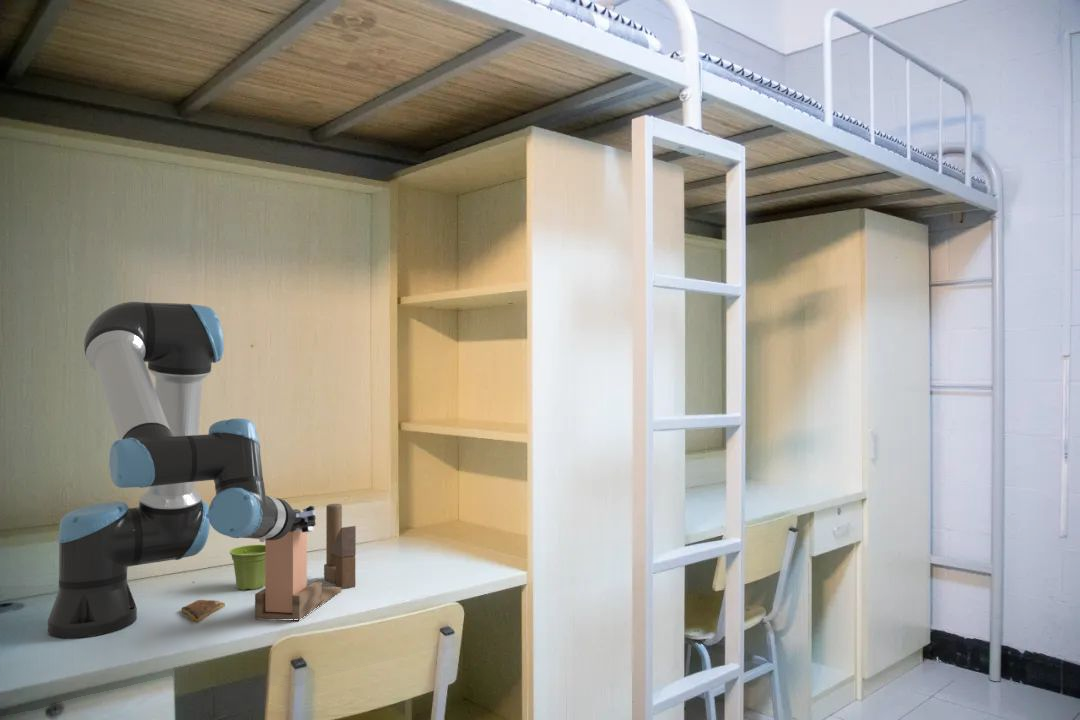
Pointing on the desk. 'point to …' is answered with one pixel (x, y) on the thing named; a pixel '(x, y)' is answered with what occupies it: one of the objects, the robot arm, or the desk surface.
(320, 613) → the desk surface
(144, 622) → the desk surface
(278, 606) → the block
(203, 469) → the robot arm
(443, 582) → the desk surface
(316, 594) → the chute
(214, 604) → the shard
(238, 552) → the plant pot
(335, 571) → the brown stepped tower
